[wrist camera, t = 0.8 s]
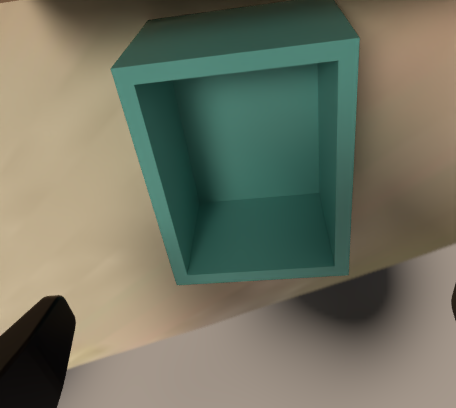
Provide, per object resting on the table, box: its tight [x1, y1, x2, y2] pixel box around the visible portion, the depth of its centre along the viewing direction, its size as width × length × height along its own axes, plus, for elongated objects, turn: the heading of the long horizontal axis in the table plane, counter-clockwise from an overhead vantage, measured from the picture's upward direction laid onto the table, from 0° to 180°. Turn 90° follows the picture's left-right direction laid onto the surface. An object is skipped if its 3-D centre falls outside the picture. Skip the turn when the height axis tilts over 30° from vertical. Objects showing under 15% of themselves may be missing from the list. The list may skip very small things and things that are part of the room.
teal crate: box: [111, 0, 360, 285], centre depth 15 cm, size 6×8×5 cm
